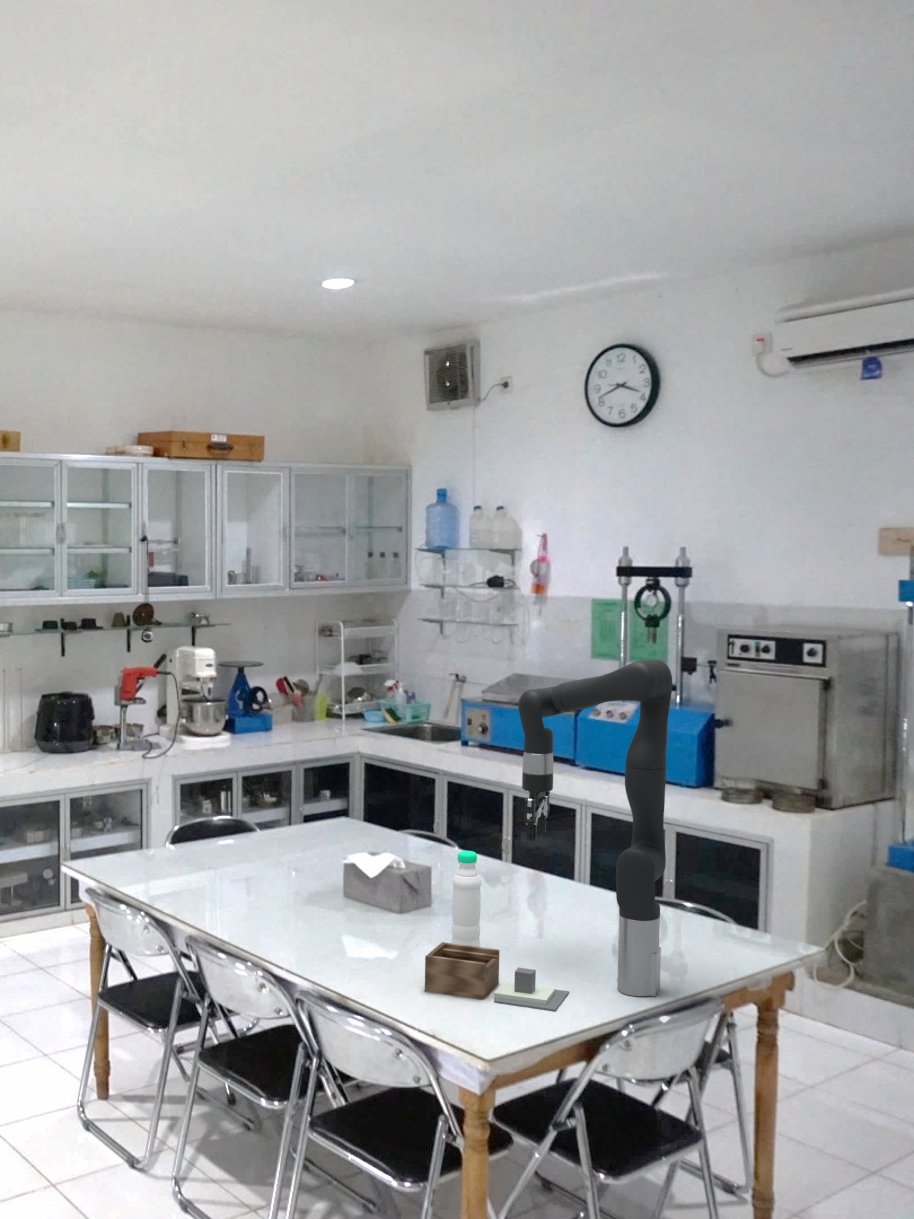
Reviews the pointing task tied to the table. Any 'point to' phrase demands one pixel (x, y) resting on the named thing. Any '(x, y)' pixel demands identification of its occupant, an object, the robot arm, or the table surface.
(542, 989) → the lid
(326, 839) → the table surface
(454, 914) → the water bottle
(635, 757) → the robot arm
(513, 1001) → the mat
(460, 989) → the box
